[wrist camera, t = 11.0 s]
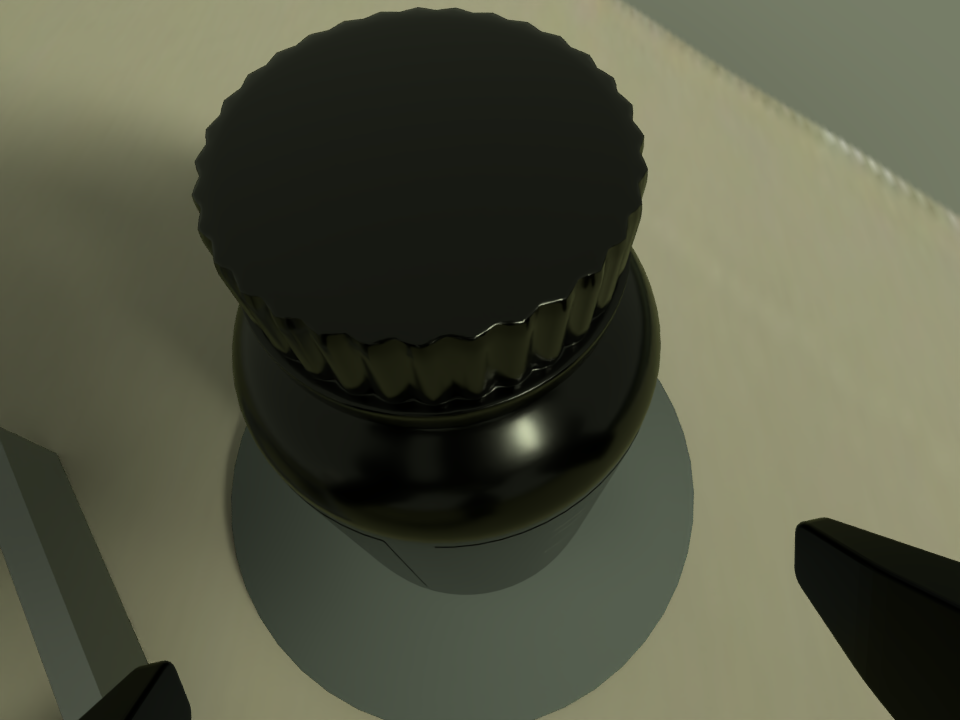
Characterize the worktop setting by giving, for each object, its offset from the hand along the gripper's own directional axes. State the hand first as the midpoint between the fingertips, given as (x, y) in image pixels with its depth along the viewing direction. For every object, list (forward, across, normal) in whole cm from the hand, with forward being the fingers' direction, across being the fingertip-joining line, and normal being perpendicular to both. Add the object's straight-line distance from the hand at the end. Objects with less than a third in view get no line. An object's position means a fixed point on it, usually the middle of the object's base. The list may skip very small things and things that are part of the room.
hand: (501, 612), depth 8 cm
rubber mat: (+9, 0, +2) cm, 9 cm away
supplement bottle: (+8, 0, +2) cm, 9 cm away
